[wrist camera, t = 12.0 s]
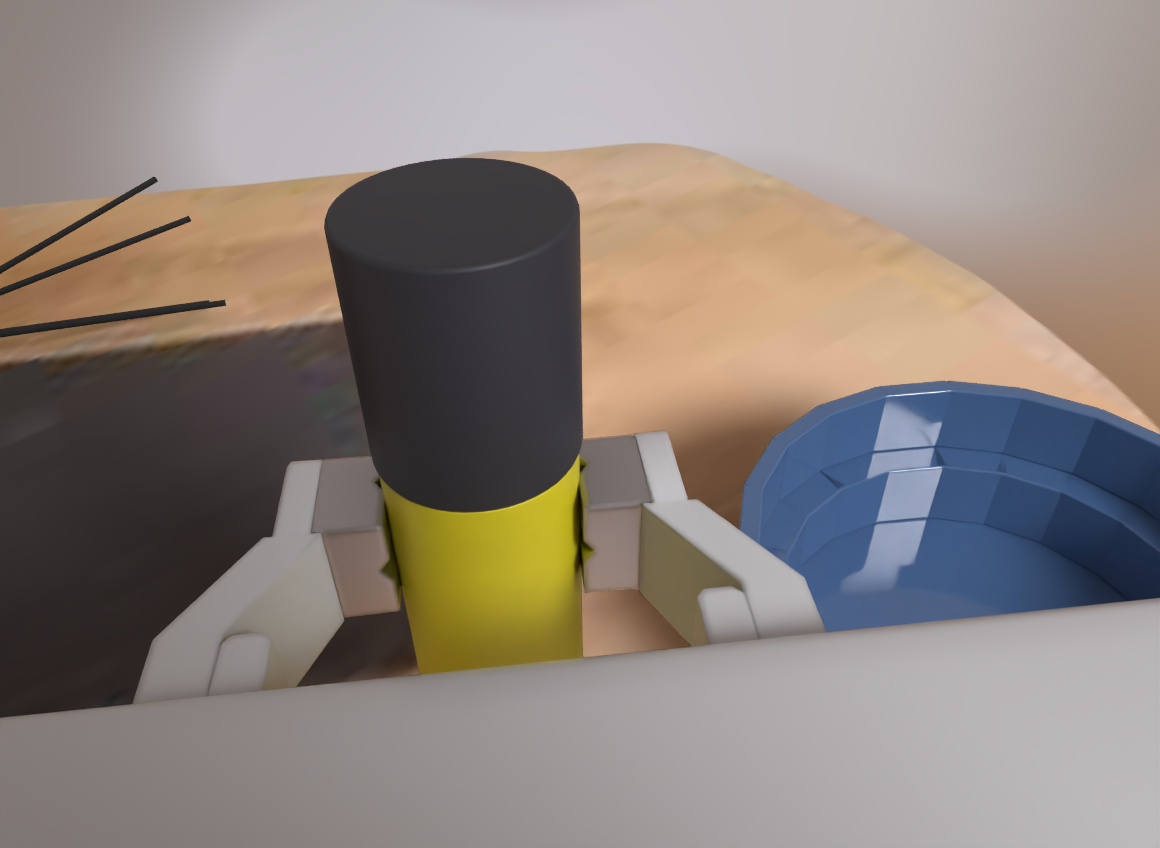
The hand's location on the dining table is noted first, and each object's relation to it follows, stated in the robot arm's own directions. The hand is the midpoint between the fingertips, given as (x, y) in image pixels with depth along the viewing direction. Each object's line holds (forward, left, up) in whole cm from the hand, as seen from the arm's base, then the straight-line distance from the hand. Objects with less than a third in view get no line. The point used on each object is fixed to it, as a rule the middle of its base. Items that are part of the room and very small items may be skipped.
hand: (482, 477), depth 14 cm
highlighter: (0, -1, -6) cm, 6 cm away
